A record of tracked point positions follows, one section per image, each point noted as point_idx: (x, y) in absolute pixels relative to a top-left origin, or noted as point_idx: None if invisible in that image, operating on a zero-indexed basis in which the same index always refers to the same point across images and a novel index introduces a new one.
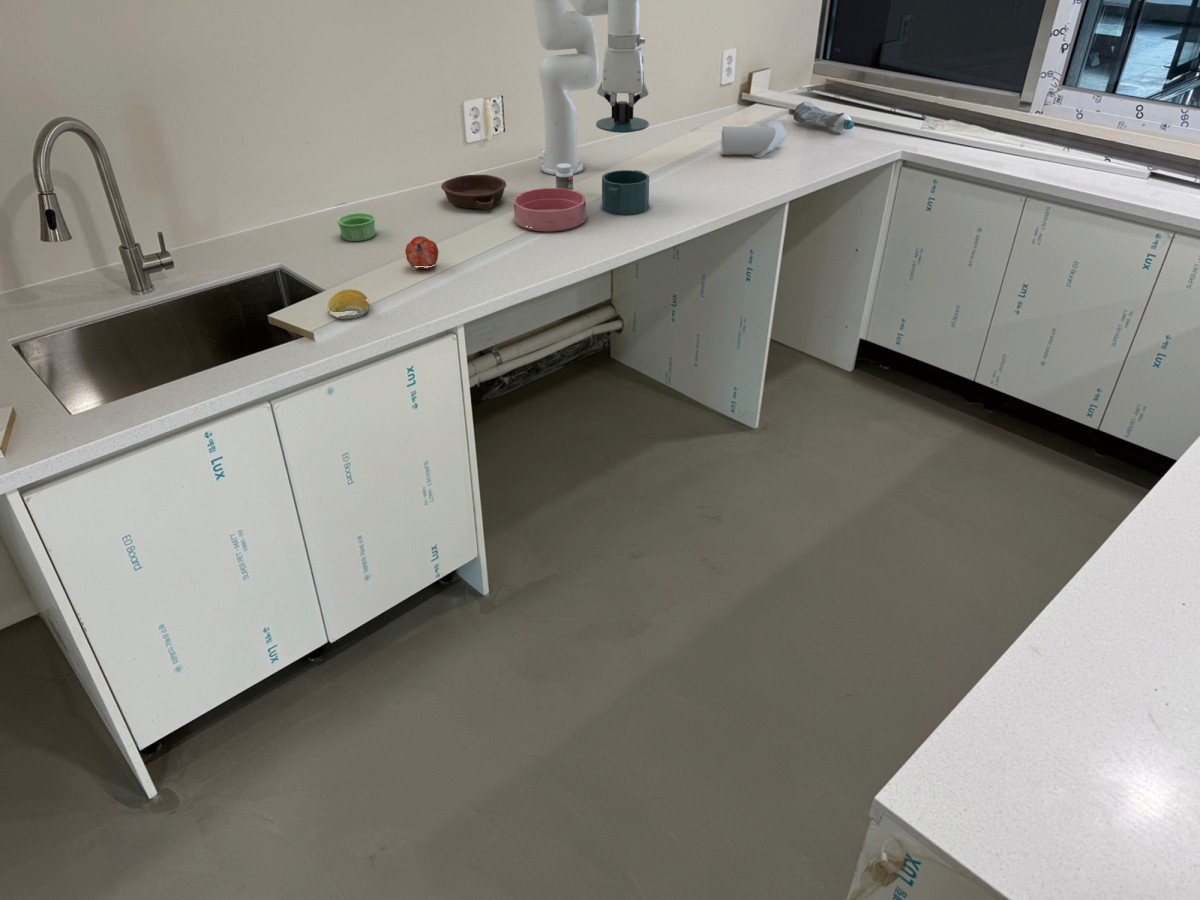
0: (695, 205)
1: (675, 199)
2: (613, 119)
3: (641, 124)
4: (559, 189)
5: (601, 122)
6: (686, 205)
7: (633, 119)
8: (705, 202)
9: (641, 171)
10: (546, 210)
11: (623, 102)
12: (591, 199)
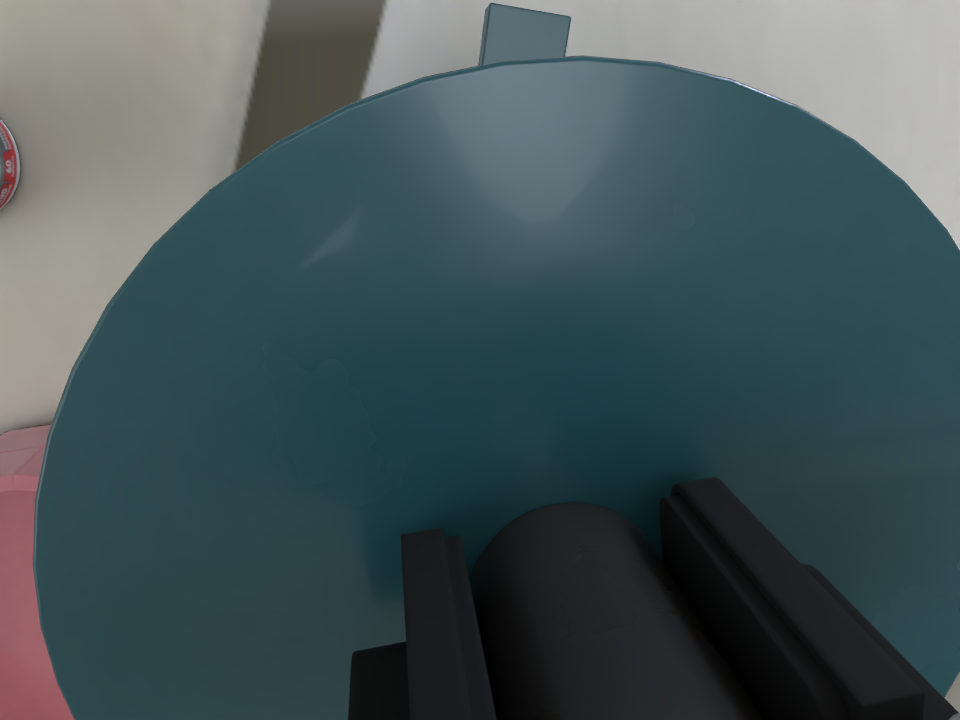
0: (893, 108)
1: (758, 15)
2: (311, 402)
3: (903, 559)
4: (7, 491)
5: (165, 676)
6: (838, 124)
7: (719, 278)
8: (954, 27)
9: (565, 33)
10: (8, 512)
11: None
12: (184, 179)
